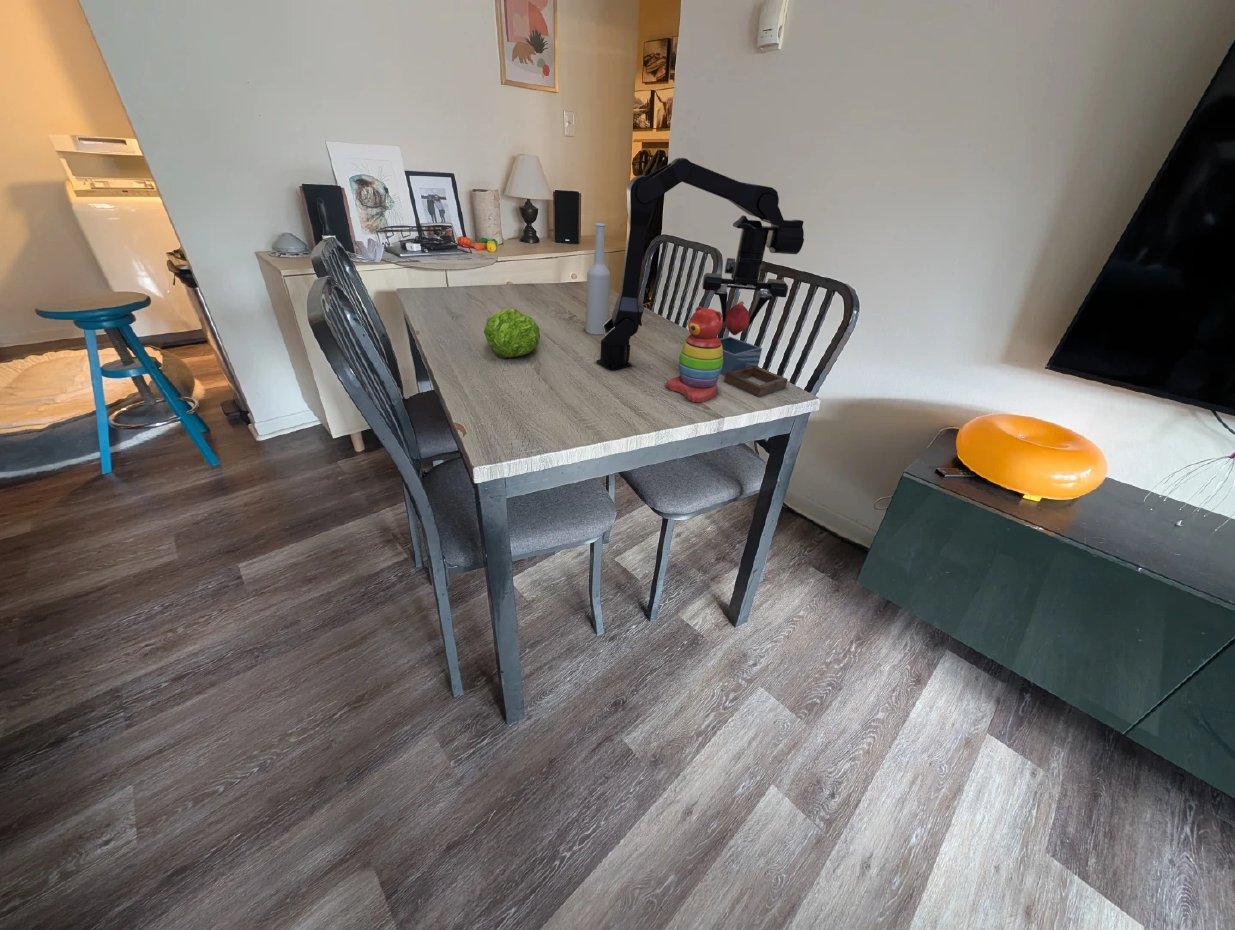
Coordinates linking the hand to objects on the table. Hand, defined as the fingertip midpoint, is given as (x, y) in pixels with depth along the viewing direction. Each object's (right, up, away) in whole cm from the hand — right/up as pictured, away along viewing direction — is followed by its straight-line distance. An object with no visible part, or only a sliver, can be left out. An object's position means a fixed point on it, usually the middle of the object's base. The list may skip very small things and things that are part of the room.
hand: (736, 322), depth 113 cm
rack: (+3, -15, -3) cm, 16 cm away
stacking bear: (-11, -18, -8) cm, 22 cm away
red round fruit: (0, -3, +2) cm, 3 cm away
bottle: (-35, +5, +25) cm, 43 cm away
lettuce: (-56, -4, +9) cm, 57 cm away
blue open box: (-1, -9, +6) cm, 11 cm away
